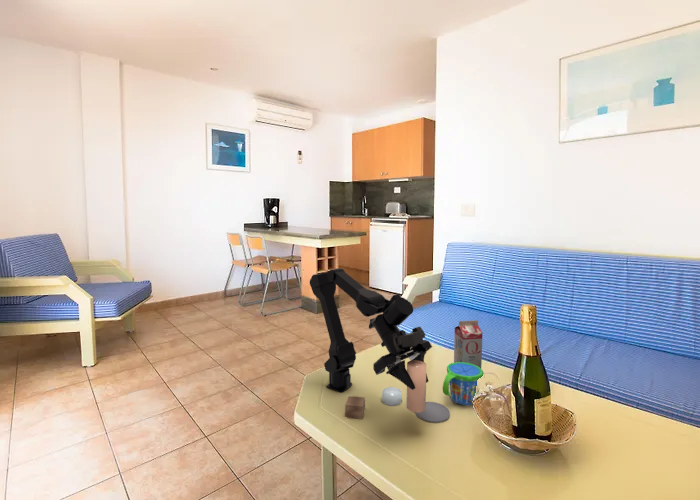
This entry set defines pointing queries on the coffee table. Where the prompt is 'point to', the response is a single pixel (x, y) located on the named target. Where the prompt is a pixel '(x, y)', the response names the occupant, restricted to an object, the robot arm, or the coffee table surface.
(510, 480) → the coffee table surface
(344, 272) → the robot arm
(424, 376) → the pink rounded cylinder
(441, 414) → the coaster
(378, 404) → the coffee table surface
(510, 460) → the coffee table surface
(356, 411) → the walnut block
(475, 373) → the snack cup
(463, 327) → the juice carton
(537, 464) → the coffee table surface
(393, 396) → the white dome
